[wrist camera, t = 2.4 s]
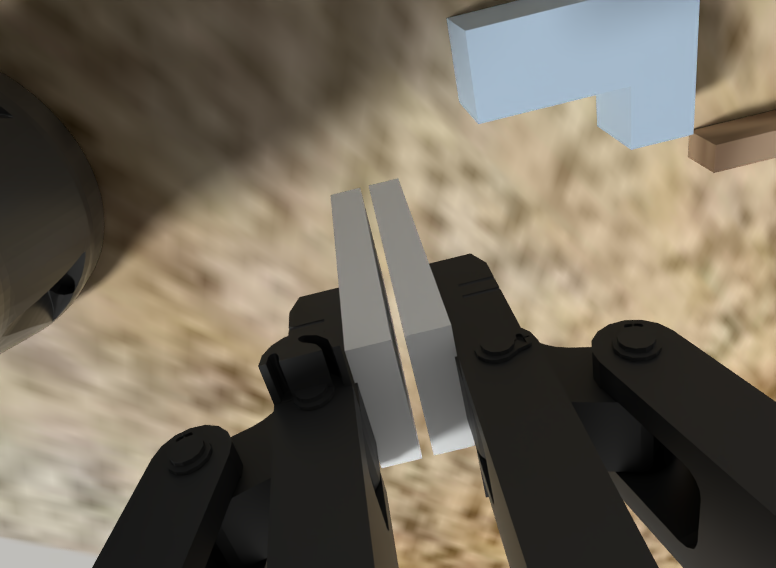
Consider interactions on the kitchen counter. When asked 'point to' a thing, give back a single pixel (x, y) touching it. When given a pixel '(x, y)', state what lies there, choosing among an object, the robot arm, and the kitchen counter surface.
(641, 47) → the blue t-shaped block
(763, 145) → the bay
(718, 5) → the kitchen counter surface
